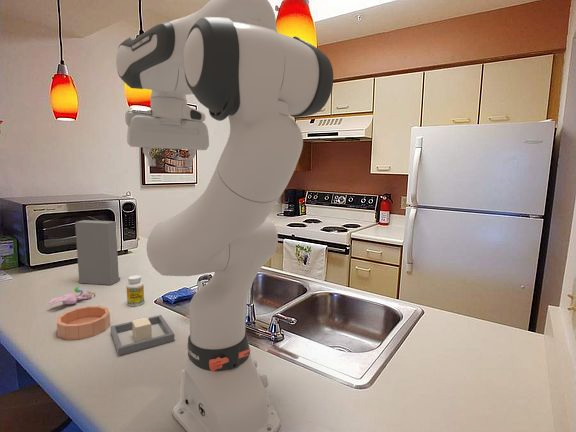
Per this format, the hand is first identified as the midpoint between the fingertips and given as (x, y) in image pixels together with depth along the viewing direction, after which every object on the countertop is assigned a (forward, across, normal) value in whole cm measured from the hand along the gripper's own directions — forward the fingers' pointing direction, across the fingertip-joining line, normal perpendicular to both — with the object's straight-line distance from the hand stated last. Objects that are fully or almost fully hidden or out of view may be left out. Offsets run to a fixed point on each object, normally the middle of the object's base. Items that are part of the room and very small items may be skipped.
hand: (170, 166), depth 87 cm
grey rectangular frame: (+48, -8, +4) cm, 49 cm away
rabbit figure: (+48, -23, +40) cm, 67 cm away
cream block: (+48, -8, +4) cm, 49 cm away
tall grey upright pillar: (+48, -13, +59) cm, 77 cm away
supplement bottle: (+48, -5, +29) cm, 57 cm away
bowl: (+48, -21, +18) cm, 55 cm away
